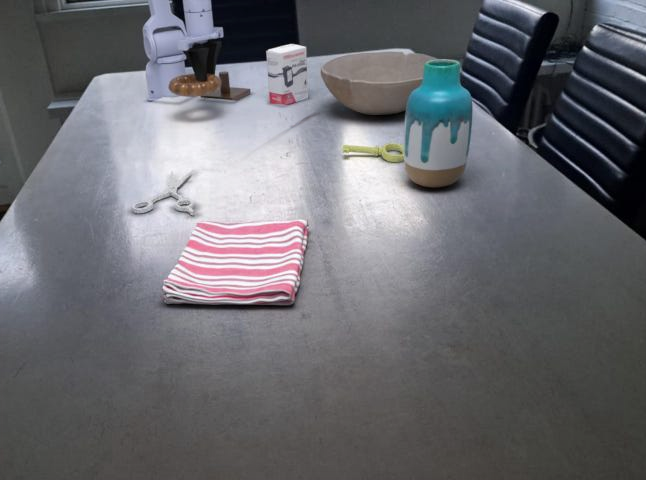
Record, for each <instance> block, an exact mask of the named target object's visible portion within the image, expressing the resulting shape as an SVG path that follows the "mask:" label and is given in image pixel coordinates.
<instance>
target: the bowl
mask: <svg viewBox="0 0 646 480" xmlns="http://www.w3.org/2000/svg"><path fill="white" fill-rule="evenodd" d="M437 59H438V58H437V57H434V56H431V55H428V54H424V53H418V52H417V53H416V52H409V53H407V54H405V53H404V52H403V51H377V52H375V51H374V52H360V53H359V52H358V53H353V54H346V55H341V56H338V57H335V58H333V59H331V60H329V61H327V62H325V63H324V64H323V65H321V67H320V77H321V79H322V81H323V83H324V85H325V87H326V88H327V90H328V91H329V93H330V94H331V95H332V96H333V97H334V98H335V99H336V100H337V101H338V102H339V103H341V104H342V105H344V106H345V107H346V108H347V109H350V110H353V111H355V112H357V113H360V114H363V115H368V116H369V115H370V116H388V115H395V114H399V113H403V112H406V107H407V102H408V98H409V96H410V94H411V93H412V91H413V90H415V89H417V88H418V87H420V86H421V84H422V80H423V73H424V65H425V63H426V62H427V61H430V60H437Z"/></svg>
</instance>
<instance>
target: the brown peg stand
mask: <svg viewBox="0 0 646 480" xmlns="http://www.w3.org/2000/svg"><path fill="white" fill-rule="evenodd" d="M218 77H219V78H220V79H221V88H220V89H219V90H218V91H216V92H214V93H212V94H208V95H203V96H199V97H200V98H202V99H213V100H223V101H224V100H225V101H239V100H241V99H243V98H246V97H247V96H249V95H251V94H252V92H251V88H245V87H233V86H231V84H230V83H231V82H230V75H229V71H219V72H218Z"/></svg>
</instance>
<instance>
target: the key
mask: <svg viewBox="0 0 646 480" xmlns="http://www.w3.org/2000/svg"><path fill="white" fill-rule="evenodd" d="M403 147H404V145H402V144H399V143H395V142H388V143H385V144H383V145H382V147H380V146H379V145H376V146H363V145H353V144H352V145H351V144H342V153H343V154H345V153H346V154H350V153H354V154H355V153H357V154H369V155H374V156H375V157H378V156H381V158H382V159H384V161H387V162H390V163H391V162H392V163H400V162H404V148H403ZM388 151H397V152H399V153H401V154H393V153H389V152H388Z"/></svg>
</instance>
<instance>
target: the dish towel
mask: <svg viewBox="0 0 646 480" xmlns="http://www.w3.org/2000/svg"><path fill="white" fill-rule="evenodd" d="M309 230H310V225H309V220H308V219H306V218H305V219H302V218H301V219H294V220H265V221H261V220H260V221H259V220H254V221H241V222H240V221H234V222H222V221H214V220H199V221H197V222H196V225H195V226H194V228H193V230H192V231H191V234H190V236H189V238H188V242H187V244H186V246H185V247H184V249H183V250H182V252H181V254H180V257H179V259H178V263H177V264H175V266H174V267H173V268H172V270H171V271H170V273H169V274H168V276H167V278H165V279H164V280H163V281H162V283H163V285H162V287H161V291H162V292H163V293H164V294H163V298H164V303H165V304H168V305H170V304H173V305H177V304H178V305H181V304H191V305H192V304H193V305H251V306H252V305H255V306H257V305H258V306H259V305H262V306H265V305H267V306H268V305H269V306H291V305H292V304H294V302H295V300H296V297H295V296H296V295H295V294H297V292H298V289H299V287H300V283H301V272H302V269H303V266H304V260H305V258H304V256H305V255H304V254H305V251H306V248H307V244H308V232H309Z"/></svg>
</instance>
